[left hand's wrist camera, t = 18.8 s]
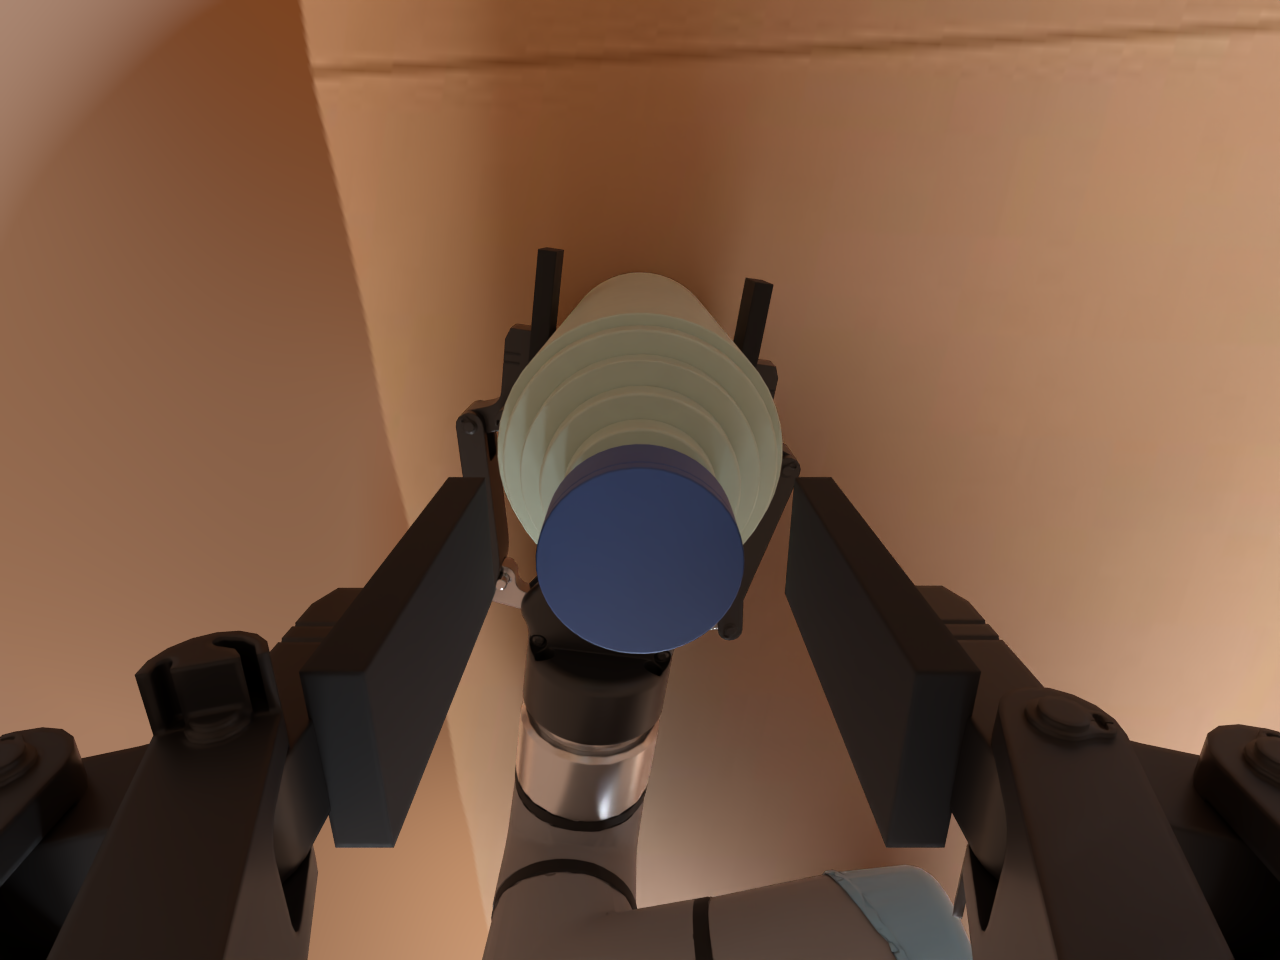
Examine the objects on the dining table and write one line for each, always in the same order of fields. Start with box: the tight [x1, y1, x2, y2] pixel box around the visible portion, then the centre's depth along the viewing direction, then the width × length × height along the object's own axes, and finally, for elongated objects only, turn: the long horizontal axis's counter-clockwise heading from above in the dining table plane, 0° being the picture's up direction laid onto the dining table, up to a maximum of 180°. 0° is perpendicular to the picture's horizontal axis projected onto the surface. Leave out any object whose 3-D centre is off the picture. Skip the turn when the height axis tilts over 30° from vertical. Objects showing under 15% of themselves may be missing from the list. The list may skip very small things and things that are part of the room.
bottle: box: [498, 272, 783, 544], centre depth 25 cm, size 8×8×24 cm
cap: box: [536, 444, 744, 654], centre depth 14 cm, size 4×4×2 cm
